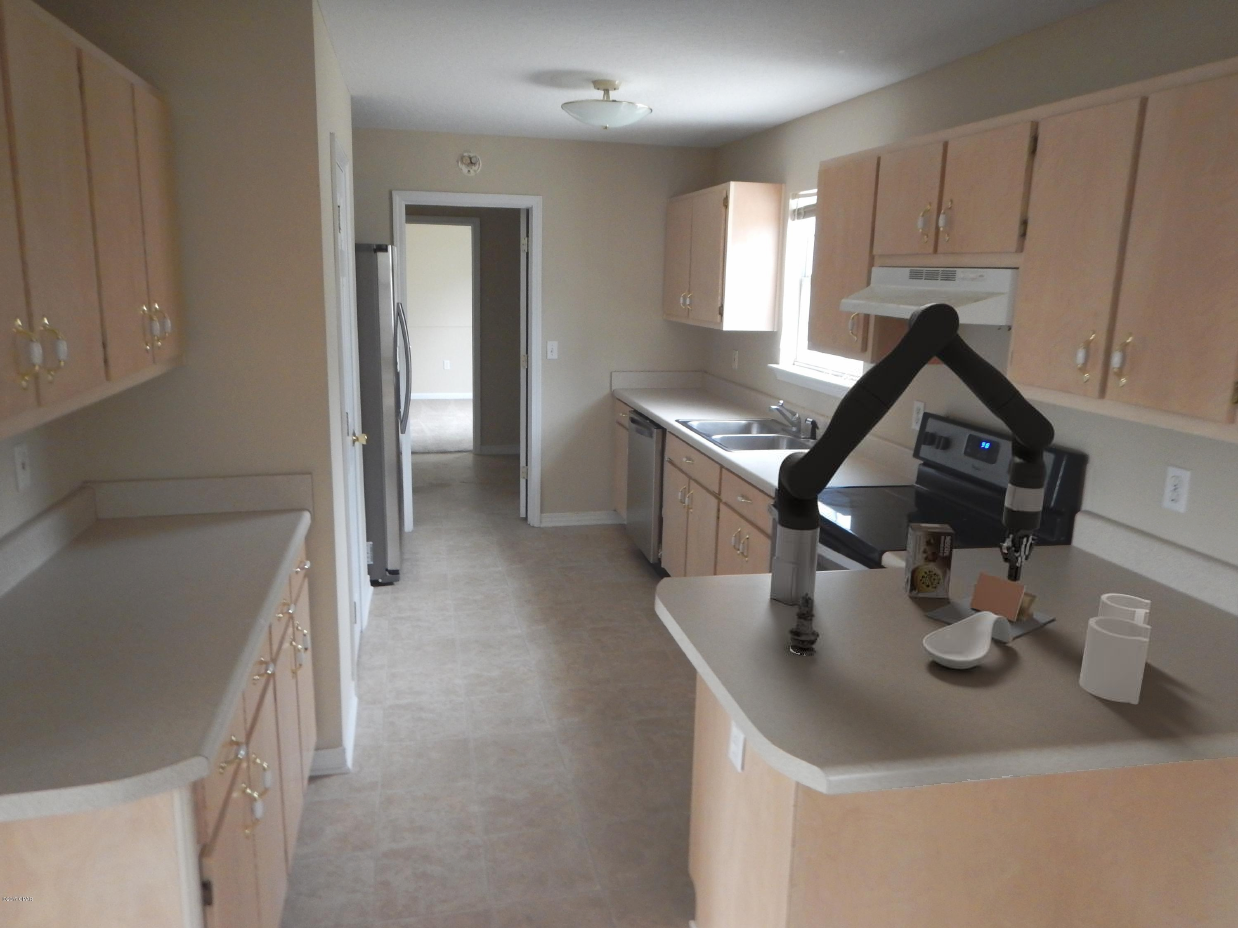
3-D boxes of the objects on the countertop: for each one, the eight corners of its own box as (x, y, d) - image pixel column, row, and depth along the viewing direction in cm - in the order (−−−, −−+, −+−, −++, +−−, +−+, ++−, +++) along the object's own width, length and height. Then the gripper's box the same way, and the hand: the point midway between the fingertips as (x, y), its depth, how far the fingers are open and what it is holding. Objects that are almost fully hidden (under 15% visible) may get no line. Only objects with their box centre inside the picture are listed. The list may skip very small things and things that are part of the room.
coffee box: (941, 589, 210) (948, 523, 207) (948, 599, 204) (956, 531, 201) (901, 587, 211) (908, 521, 208) (907, 596, 205) (914, 529, 202)
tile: (1012, 622, 190) (1017, 587, 188) (969, 608, 198) (973, 574, 196) (1021, 619, 193) (1026, 584, 191) (978, 604, 200) (982, 571, 198)
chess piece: (819, 646, 176) (824, 589, 174) (816, 658, 171) (820, 599, 168) (789, 642, 178) (793, 585, 175) (785, 653, 172) (789, 595, 170)
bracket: (1090, 645, 181) (1099, 589, 178) (1145, 657, 176) (1155, 600, 173) (1075, 692, 160) (1085, 629, 158) (1137, 707, 155) (1148, 642, 152)
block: (1024, 621, 191) (1027, 599, 190) (972, 604, 200) (974, 583, 199) (1033, 617, 194) (1036, 595, 193) (981, 600, 203) (984, 579, 202)
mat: (1004, 643, 180) (1004, 641, 180) (925, 615, 194) (925, 613, 194) (1055, 619, 194) (1055, 617, 194) (978, 594, 208) (978, 593, 208)
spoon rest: (965, 683, 162) (970, 646, 161) (909, 660, 171) (912, 626, 169) (1028, 648, 177) (1032, 615, 175) (973, 629, 186) (976, 597, 184)
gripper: (1021, 497, 201) (1011, 570, 205) (991, 505, 193) (982, 581, 197) (1054, 504, 196) (1044, 579, 199) (1025, 513, 187) (1014, 591, 191)
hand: (1013, 580), depth 198 cm, fingers closed
